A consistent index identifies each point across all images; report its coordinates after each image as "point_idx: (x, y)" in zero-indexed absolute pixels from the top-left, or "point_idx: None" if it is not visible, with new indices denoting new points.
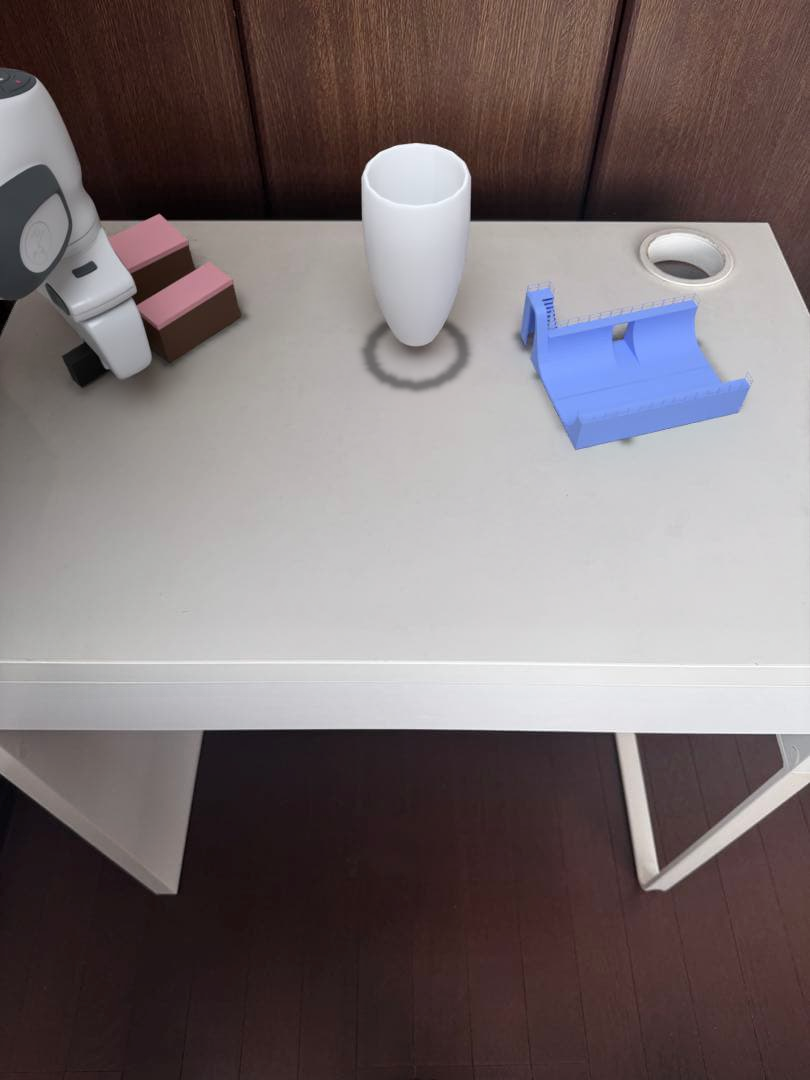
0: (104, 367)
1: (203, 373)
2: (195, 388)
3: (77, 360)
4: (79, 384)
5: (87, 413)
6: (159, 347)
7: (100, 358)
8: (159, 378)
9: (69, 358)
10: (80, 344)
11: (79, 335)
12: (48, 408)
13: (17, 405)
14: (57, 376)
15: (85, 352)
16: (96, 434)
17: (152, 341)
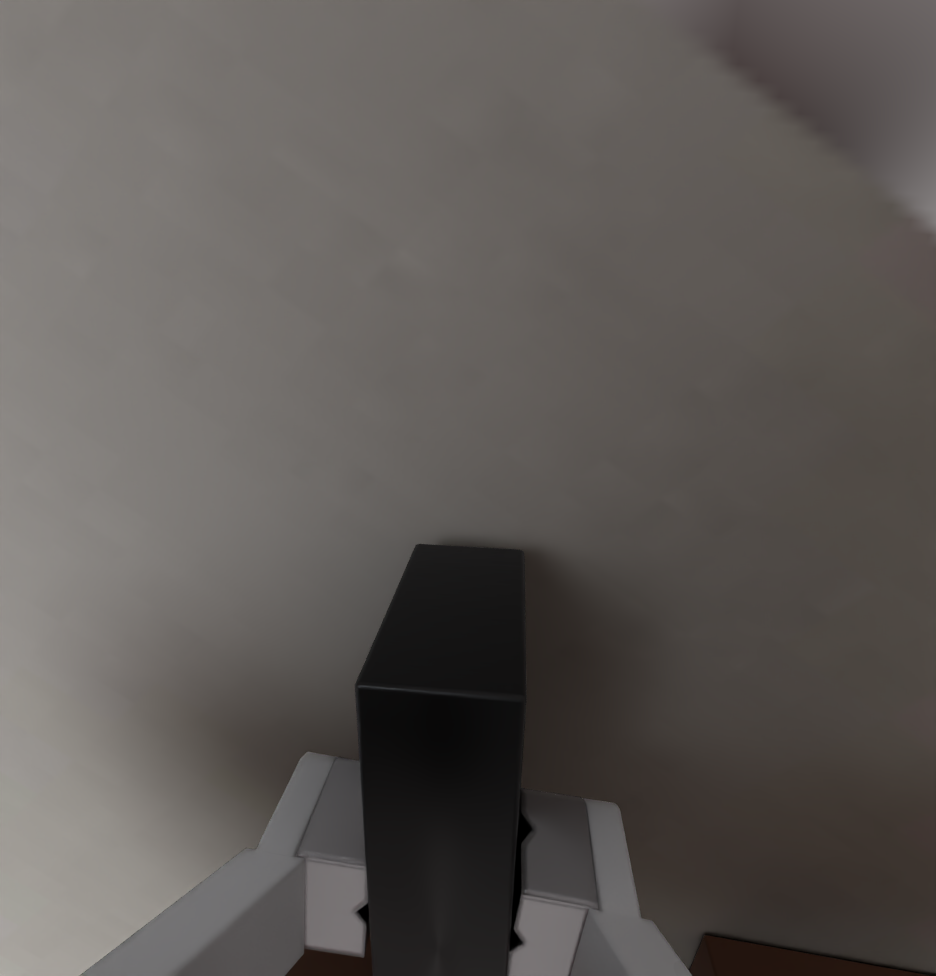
0: (308, 759)
1: (149, 897)
2: (91, 837)
3: (364, 744)
4: (424, 553)
5: (253, 442)
6: (305, 954)
7: (270, 843)
8: (237, 796)
9: (434, 722)
10: (512, 861)
11: (631, 896)
12: (461, 291)
13: (666, 129)
14: (653, 502)
15: (391, 833)
16: (73, 379)
17: (367, 962)
